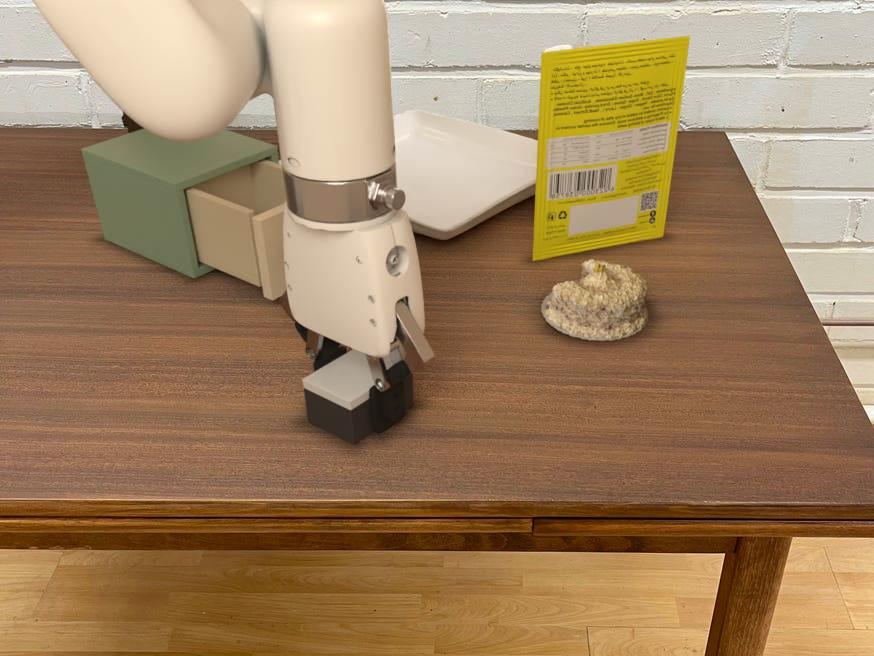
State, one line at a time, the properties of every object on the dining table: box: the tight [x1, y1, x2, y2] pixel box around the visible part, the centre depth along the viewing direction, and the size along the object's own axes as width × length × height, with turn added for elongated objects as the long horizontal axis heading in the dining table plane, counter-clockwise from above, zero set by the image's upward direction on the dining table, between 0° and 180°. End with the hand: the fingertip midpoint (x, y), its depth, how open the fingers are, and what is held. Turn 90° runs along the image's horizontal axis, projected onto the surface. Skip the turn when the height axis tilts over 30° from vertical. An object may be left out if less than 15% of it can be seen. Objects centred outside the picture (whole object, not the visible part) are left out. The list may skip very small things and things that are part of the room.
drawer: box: [183, 159, 287, 301], centre depth 91 cm, size 19×11×8 cm, turn 52°
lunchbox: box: [301, 348, 415, 446], centre depth 74 cm, size 7×5×4 cm
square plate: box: [279, 108, 538, 241], centre depth 110 cm, size 27×27×4 cm
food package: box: [531, 35, 691, 262], centre depth 93 cm, size 15×1×20 cm, turn 113°
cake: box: [540, 258, 650, 342], centre depth 87 cm, size 10×10×5 cm
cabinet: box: [80, 128, 280, 280], centre depth 98 cm, size 15×13×10 cm
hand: (361, 408), depth 75 cm, fingers open, 5 cm apart
